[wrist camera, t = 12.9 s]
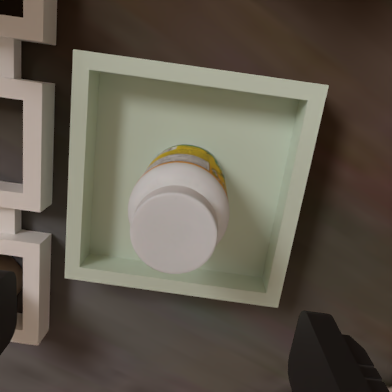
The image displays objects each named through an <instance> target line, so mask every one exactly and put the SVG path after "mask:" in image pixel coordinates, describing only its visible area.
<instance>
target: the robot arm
mask: <svg viewBox="0 0 392 392" xmlns="http://www.w3.org/2000/svg"><path fill="white" fill-rule="evenodd" d="M16 324H17V279H16V275H15V273H14V272H12V271H6V270H0V355H1V353H2V352H3V351H4V349H5V348H6V347H7V345H8V344H9V343H10V341H11V339H12V337H13V335H14V332H15V329H16ZM288 375H289V381H290V385H291V388H292V392H389V390H388V388H387V387H386V385H385V383H384V382H382V378H381V377H380V375H379V373H378V371H377V370H376V368H374V365H373V363H372V361H371V360H370V358H369V356H368V354H367V353H366V351H365V350H364V349H363V348H362V347H361V346H360V345H359V344H358V343H357V342H356V341H355V340H354V339H353V338H352V337H350V336H349V335H342V334H341V332H340V330H339V328H338V326H337V324H336V322H335V321H334V319H333V317H332V316H331V315H330V314H325V313H317V312H310V311H302V312H301V313H300V316H299V319H298V323H297V327H296V331H295V335H294V339H293V343H292V347H291V351H290V355H289V361H288Z"/></svg>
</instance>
